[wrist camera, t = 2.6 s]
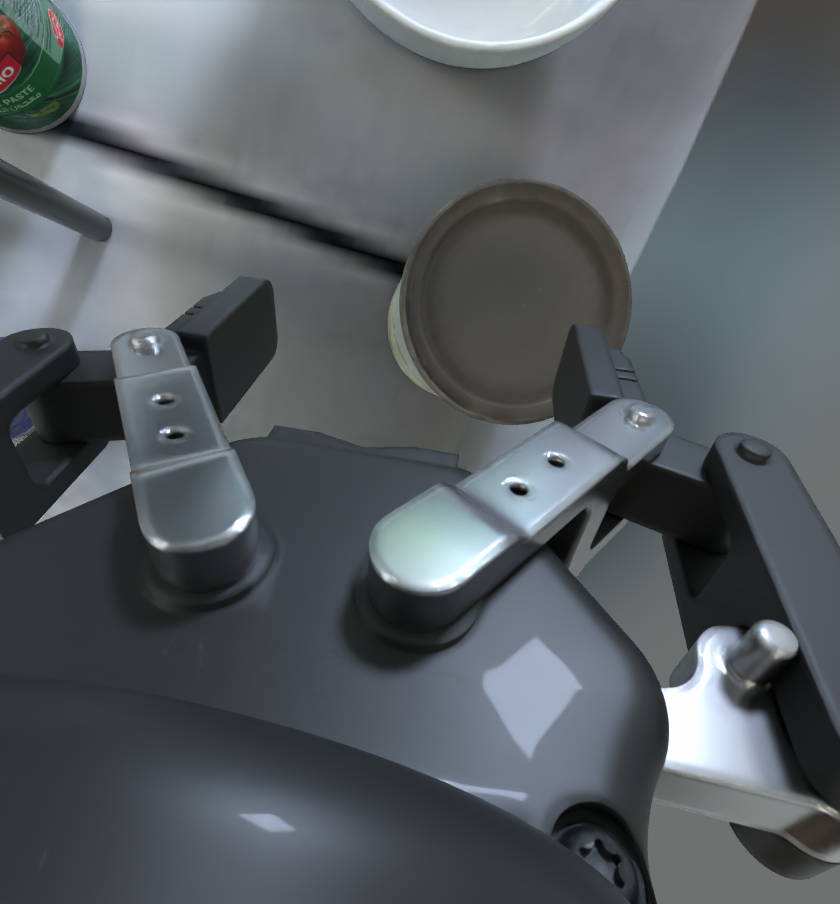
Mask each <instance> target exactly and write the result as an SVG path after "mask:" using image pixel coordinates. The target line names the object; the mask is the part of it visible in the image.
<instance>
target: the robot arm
mask: <svg viewBox="0 0 840 904" xmlns="http://www.w3.org/2000/svg"><path fill="white" fill-rule="evenodd" d="M276 348H277V325H276V315H275V304H274V293H273V287H272V284H271V282H270V281H269V280H264V279H257V278H250V277H243V276H240V277H239V278H237V279H236V280H235V281H234V282H232V283H231V284H230V285H229V286H228V287H226V288H225V289H224V290H223V291H222V292H221V291H220V292H217V293H215V294H212V295H209V296H207V297H204V298H203V299H201V300H200V301H199V302H198V303H196V304H195V305H194V307H193V308H190V309H189V310H188V311H186V312H185V314H183V315H182V316H180V317H179V318H178V319H177V320H175V321H174V322H173V323H172V324H170V325H169V326H168V327H167V328H165V329H161V328H142V329H136V330H132V331H128V332H125V333H123V334H121V335H119V336H117V337H116V338H115V339H114V340H113V341H112V342H111V351H77V349H76V346H75V343H74V340H73V338H72V336H71V334H70V333H68V332H67V331H64V330H61V329H54V328H38V329H30V330H25V331H21V332H17V333H14V334H12V335H9V336H7V337H5V338H3V339H2V340H0V904H657V902H656V898H655V894H654V890H653V887H652V883H651V877H650V871H649V864H648V825H649V816H650V809H651V803H652V802H655V803H659V804H663V805H667V806H670V807H674V808H678V809H682V810H686V811H690V812H694V813H698V814H701V815H706V816H709V817H713V818H718V819H721V820H725V821H729V823H730V826H731V827H732V829H733V831H734V833H735V834H736V836H737V838H738V839H739V840H740V842H741V843H742V845H743V846H744V847H745V848H746V849H747V850H748V852H749V853H750V854H751V855H753V857H754V858H756V859H757V860H758V861H759V862H760V863H762V864H763V865H764V866H765V867H767V868H768V869H770V870H771V871H773V872H775V873H777V874H779V875H781V876H784V877H787V878H790V879H797V880H803V879H809V878H811V877H814V876H816V875H818V874H820V873H823V872H825V871H827V870H829V869H831V868H834V867H836V866H838V865H840V546H839V545H838V543H837V541H836V539H835V538H834V536H833V534H832V533H831V531H830V529H829V528H828V526H827V524H826V522H825V521H824V519H823V517H822V516H821V514H820V512H819V511H818V509H817V507H816V505H815V504H814V502H813V500H812V499H811V497H810V495H809V494H808V492H807V490H806V488H805V487H804V485H803V483H802V482H801V480H800V479H799V476H798V475H797V473H796V471H795V470H794V468H793V466H792V464H791V463H790V461H789V460H788V458H787V457H786V456H785V455H784V454H783V453H782V452H781V451H780V450H779V449H777V448H776V447H774V446H773V445H771V444H769V443H768V442H766V441H763V440H761V439H759V438H756V437H753V436H750V435H746V434H741V433H724V434H721V435H719V436H718V437H717V438H716V440H715V442H714V443H713V445H712V447H711V448H709V447H706V446H703V445H700V444H697V443H694V442H691V441H688V440H685V439H683V438H680V437H678V436H676V435H673V434H672V433H671V432H672V430H673V427H674V424H673V421H672V419H671V418H670V417H669V415H668V414H667V413H665V412H664V411H663V410H661V409H660V408H658V407H656V406H654V405H652V404H650V403H647V402H646V400H645V397H644V394H643V392H642V389H641V386H640V384H639V382H638V379H637V376H636V374H635V373H634V372H635V371H634V369H633V366H632V363H631V361H630V360H629V359H628V358H627V357H626V356H625V355H624V354H623V353H622V352H621V351H620V350H618V349H611V348H609V347H608V344H607V341H606V338H605V335H604V332H603V329H602V328H596V327H589V326H582V325H575V324H573V325H572V326H571V328H570V330H569V333H568V336H567V340H566V343H565V347H564V350H563V353H562V357H561V360H560V364H559V367H558V370H557V374H556V377H555V381H554V386H553V393H552V403H553V411H554V420H555V421H554V422H552V423H550V424H549V425H547V426H546V427H544V428H543V429H541V430H540V431H538V432H537V433H535V434H533V435H532V436H530V437H529V438H527V439H526V440H524V441H523V442H521V443H520V444H518V445H516V446H515V447H513V448H512V449H510V450H509V451H507V452H506V453H504V454H502V455H501V456H499V457H498V458H496V459H495V460H493V461H492V462H490V463H489V464H487V465H485V466H484V467H482V468H481V469H479V470H478V471H476V472H475V473H473V474H472V473H470V472H468V471H466V470H463V469H461V468H458V459H459V455H458V454H452V453H446V452H439V451H433V450H427V449H421V448H414V447H385V448H366V447H360V446H357V445H354V444H351V443H348V442H345V441H343V440H340V439H337V438H334V437H331V436H328V435H325V434H322V433H319V432H313V431H307V430H301V429H294V428H288V427H282V426H274V427H273V429H272V431H271V432H270V434H269V435H268V437H260V438H250V439H243V440H238V441H234V442H230V443H228V441H227V438H226V436H225V434H224V431H223V429H222V427H221V424H220V423H223V421H224V420H225V419H226V418H227V416H228V415H229V414H230V412H231V411H232V410H233V409H234V407H235V406H236V405H237V403H238V402H239V401H240V400H241V398H242V397H243V396H244V394H245V393H246V392H247V391H248V389H249V388H250V387H251V385H252V384H253V383H254V381H255V380H256V379H257V378H258V376H259V375H260V374H261V372H262V371H263V370H264V369H265V367H266V366H267V365H268V363H269V362H270V361H271V360H272V358H273V357H274V355H275V352H276ZM24 408H26V410H27V412H28V414H29V416H30V418H31V421H32V423H33V425H34V427H35V429H36V430H34V431H33V432H32V433H31V434H30V435H29V436H28V437H26V438H25V439H24V440H23V441H22V442H21V443H20V444H19V445H17V446H16V447H15V446H14V444H13V442H12V440H11V437H10V425H11V422H12V420H13V419H14V417H15V416H16V415H17V414H18V413H19V412H21V411H22V410H23V409H24ZM114 440H126V445H127V450H128V455H129V460H130V465H131V472H130V478H131V484H129V485H127V486H125V487H122V488H120V489H118V490H115V491H113V492H111V493H108V494H106V495H103V496H101V497H99V498H96V499H94V500H92V501H89V502H87V503H85V504H82V505H80V506H78V507H75V508H73V509H71V510H68V511H66V512H64V513H61V514H59V515H57V516H54V517H52V518H50V519H47V520H45V521H43V522H40V523H38V524H36V522H37V521H38V520H39V519H40V518H41V517H42V516H43V515H44V514H45V513H46V511H47V510H48V509H49V508H50V507H51V506H52V505H53V504H54V503H55V502H56V501H57V499H58V498H59V497H60V496H61V495H62V494H63V493H64V492H65V491H66V490H67V488H68V487H69V486H70V485H71V484H72V483H73V482H74V481H75V480H76V479H77V478H78V476H79V475H80V474H81V473H82V472H83V471H84V470H85V469H86V468H87V467H88V465H89V464H90V463H91V462H92V461H93V460H94V459H95V458H96V457H97V456H98V455H99V453H100V452H101V451H102V450H103V449H104V448H105V447H106V445H107V444H108V442H109V441H114ZM628 520H629V521H631V522H634V523H636V524H639V525H642V526H644V527H647V528H649V529H652V530H654V531H657V532H659V533H662V539H663V544H664V548H665V552H666V557H667V561H668V565H669V570H670V574H671V579H672V583H673V587H674V592H675V596H676V600H677V605H678V609H679V614H680V618H681V622H682V626H683V631H684V635H685V639H686V644H687V648H688V653H687V654H686V655H685V656H684V657H683V659H682V660H681V661H680V662H679V664H678V665H677V666H676V668H675V669H674V670H673V672H672V674H671V676H670V688H661V686H660V683H659V681H658V679H657V677H656V675H655V673H654V671H653V669H652V667H651V666H650V664H649V663H648V661H647V659H646V658H645V656H644V655H643V653H642V652H641V651H640V650H639V648H638V647H637V646H636V645H635V644H634V642H633V641H632V640H631V639H630V638H629V637H628V636H627V634H626V633H625V632H624V631H623V630H622V629H621V628H620V627H619V625H617V623H616V622H615V621H614V620H613V619H612V618H611V616H610V615H609V614H608V613H607V612H606V611H605V610H604V609H603V607H602V606H601V605H600V604H599V603H598V602H597V601H596V600H595V598H594V597H593V596H592V595H591V594H590V593H589V592H588V591H587V590H586V588H585V587H584V586H583V585H582V584H581V583H580V582H579V581H578V579H577V578H576V577H577V575H578V574H579V573H580V571H581V570H582V569H583V567H584V566H585V565H586V564H587V563H588V562H589V561H590V559H591V558H592V557H593V556H594V555H595V554H596V553H597V552H598V551H599V550H600V549H601V548H602V547H603V546H604V545H605V544H606V543H607V542H608V541H609V540H610V539H611V538H612V537H613V536H614V535H615V534H616V533H617V532H618V531H619V530H620V529H621V528H622V527H623V526H624V525H625V524H626V523H627V521H628ZM35 524H36V525H35Z"/></svg>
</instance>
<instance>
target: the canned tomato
mask: <svg viewBox="0 0 840 904" xmlns="http://www.w3.org/2000/svg"><path fill="white" fill-rule="evenodd" d="M85 82H86V63H85V56H84V53H83V49H82V45H81V43H80V40H79V38H78V36H77V34H76V32H75V30H74V28H73V27H72V25H71V24H70V23H69V21H68V20H67V18H66V17H65V15H64V14H63V13H62V12H61V11H60V10H59V9H58V8H57V7H56V6H55V5H54V4H53V3H52V2H51V1H50V0H0V128H1V129H4V130H7V131H11V132H15V133H37V132H43V131H46V130H49V129H51V128H54V127H56V126H57V125H59V124H60V123H62V122H63V121H65V120H66V119H67V118H68V117H69V116H70V115H71V114H72V113H73V112H74V111H75V109H76V107H77V105H78V104H79V102H80V100H81V98H82V95H83V91H84V88H85Z"/></svg>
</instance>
